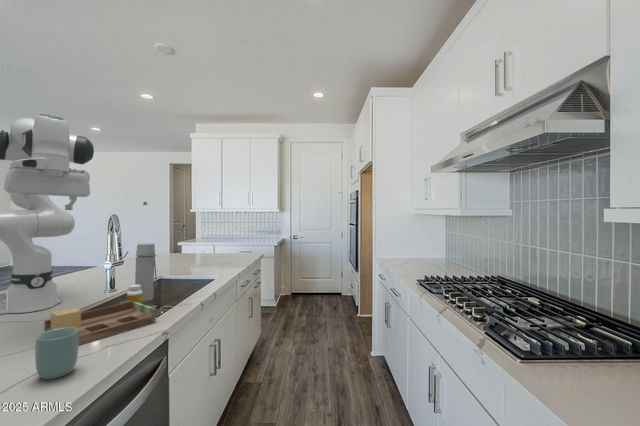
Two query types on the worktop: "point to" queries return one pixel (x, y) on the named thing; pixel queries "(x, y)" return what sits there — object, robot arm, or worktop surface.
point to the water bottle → (145, 270)
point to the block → (66, 318)
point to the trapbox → (112, 320)
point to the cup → (56, 352)
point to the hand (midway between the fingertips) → (50, 209)
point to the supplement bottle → (135, 294)
